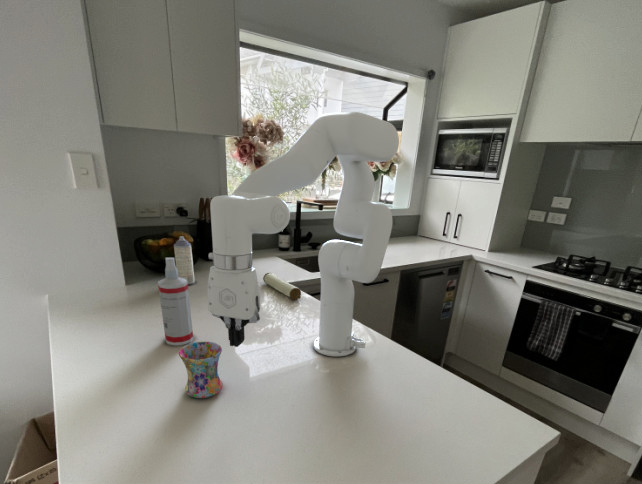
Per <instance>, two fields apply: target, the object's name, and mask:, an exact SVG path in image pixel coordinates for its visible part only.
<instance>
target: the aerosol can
mask: <svg viewBox="0 0 642 484" xmlns="http://www.w3.org/2000/svg"><path fill="white" fill-rule="evenodd" d="M173 249H174V259H175V266H176V267H177V270H178V277H180V278H183V279H186V280H187V282H188V286H191V285H194V284H195V283H196V281H195V272H194V271H195V270H194V261H193V252H192V243H190V242H189V241H188V240H187V239H185V236H183V235H182V236H179V239H178V240H177V241H176V242H175V243H173Z"/></svg>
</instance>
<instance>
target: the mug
mask: <svg viewBox="0 0 642 484" xmlns="http://www.w3.org/2000/svg"><path fill="white" fill-rule="evenodd" d="M222 352H223V347H222V346H221V345H220V344H219V343H216V342H212V341H195V342H190V343H187V344H185V345H183V346H182V347H181V348H180V350H179V351H178V356H179V358H180V359H181V360H182V362H183V364H184V366H185V369H186V374H187V382H186V385H185V388H184V391H185V393H186V394H187V396H189V397H191V398H196V399H204V398H210V397H213V396H215V395H217V394H219V393H220V392H221V391H222V389H223V386H224V383H223V381H222V380H221V378H220V375H219V370H218V369H219V368H218V366H219V359H220V357H221V354H222Z"/></svg>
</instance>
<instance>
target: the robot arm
mask: <svg viewBox="0 0 642 484" xmlns="http://www.w3.org/2000/svg"><path fill="white" fill-rule="evenodd" d="M399 144H400V137H399V133H398V130H397V128H396V126H394V125H393V124H392V123H391V122H390V121H386V120H383V119H381V118H378V117H376V116H372V115H370V114H367V113H363V112H360V111H343V112H342V111H341V112H327V113H323V114H321V115H319V116H317V118H316V119H314V121H312V123H311V124H310V125H309V126H308V127H307V128H306V130H305V131H303V133H302V134H301V135H300V136H299V138H298V139H296V141H294V143H293V144H292V145H291V146H290V148H288V150H286V151H285V152H284V153H283V154H281V155H279V156H277V157H276V158H274V159H272V160H271V161H269V162H267V163H265V164H264V165H262V166H260V167H259V168H257V169H256V170H254V171H252V172H251V173H250V174H249V175H247V176H246V177H245V178H244V179H243V181H242V182H241V183H240V184H239V185H238V186H237V187H236V189H234V190H233V192H232V194H231V195H230V194H229V195H226V194H225V195H215V196H214V197H212V199H211V200H210V203H209V204H210V206H209V210H210V223H211V238H212V239H211V241H212V252H209V253H208V259H209V260H212V261H213V263H212V264H213V265H212V266H210V268H209V274H208V281H207V307H208V311H209V313H210V314H211V315H212V316H213V317H216V318H217V319H220V320H221V321H222V322H223V323H224V327H225V328H226V329H227V332H228V333H227V334H228V341H229V346H230V347H235V348H238V347H239V346H240V345H241V344H243V343H244V341H245V339H246V337H245V327H246V326H247V325H248V324H257V323H258V322H259V321H260V320H261V318H260V311H261V293H260V292H261V291H260V285H259V278H258V274H257V270H256V268H255V267H253V234H261V235H262V234H264V235H274V234H278V233H280V232H282V231H283V230H284V229H286V228H287V226H288V225H289V223H290V219H291V211H290V207H289V206H288V204H287V203H286V201H284V200H283V199H282V198H280V197H279V195H282V194H284V193H287V192H292V191H297V190H300V189H303V188H305V187H308V186H310V185H313V184H314V183H316V181H317V180H318V178H320V176H321V175H322V174H323V172H324V171H325V170H326V169H327V167H329V165H330V164H331V163H332V161H334V159H335V158H336V157H337V159H338V161H339V163H340V167H341V170H342V171H341V172H342V184H341V188H340V189H341V190H340V193H339V197H338V201H337V204H336V209H335V212H334V215H333V216H334V217H333V229H334V231H335V232H336V233H337V234H339V235H341V236H344V237H348V238H353V239H359V240H362V242H361V243H355V242H352V241H347V240H342V239H341V240H340V239H331V240H327V241H326V242H324V243H323V244H322V246H321V247H320V248H319V252H318V256H317V261H318V270H319V276H320V299H319V300H320V302H319V303H320V304H319V306H320V307H319V325H318V329H319V330H318V331H319V332H318V337H317V338H316V339H314V341H313V349H314V350H315V351H316V352H317V353H319V354H320V355H324V356H328V357H345V356H349V355H352V354H353V353H354V352H356V348H359V349H366V343H367V342H366V341H364V338H360V337H356V336H355V332H354V331H353V319H354V307H355V306H354V305H355V296H356V295H355V286H354V283H353V281H354V282H358V283H363V284H370V283H372V282H374V281H375V280H376V279H377V277H378V276H379V274H380V271H381V269H382V266H383V262H384V260H385V259H384V258H385V255H386V252H387V248H388V245H389V241H390V237H391V233H392V230H393V222H394V221H393V213H392V211H391V209H390V207H389V206H387V205H386V204H384V203H381V202H375V201H372V200H373V195H374V192H375V186H376V183H375V177H374V173H373V172H372V168H371V167H370V165H369V163H368V162H370V163H373V162H374V163H385V162H388V161H390V160H392V159H393V158H394V157H395V155H396V154H397V152H398V150H399Z"/></svg>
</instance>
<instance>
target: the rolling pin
mask: <svg viewBox="0 0 642 484" xmlns="http://www.w3.org/2000/svg"><path fill="white" fill-rule="evenodd" d="M262 279H263V280H262V281H263V282H264V283H265V284H267V285H269V286H270V287H272V288H273V289H275V290H277V291H278V292H280V293H282V294H283V295H285V296H287V297H289V298H290V299H291V300H293V301H297V300H300V299H302V296H301V295H302V291H301V290H302V289H301V288H300V287H297V286H295V285H294V284H291V283H289V282H287V281H285V280H283V279H282V278H280V277H278V275H277V274H275V273H271V272H267V273H265V274H264V275H263V277H262Z"/></svg>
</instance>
